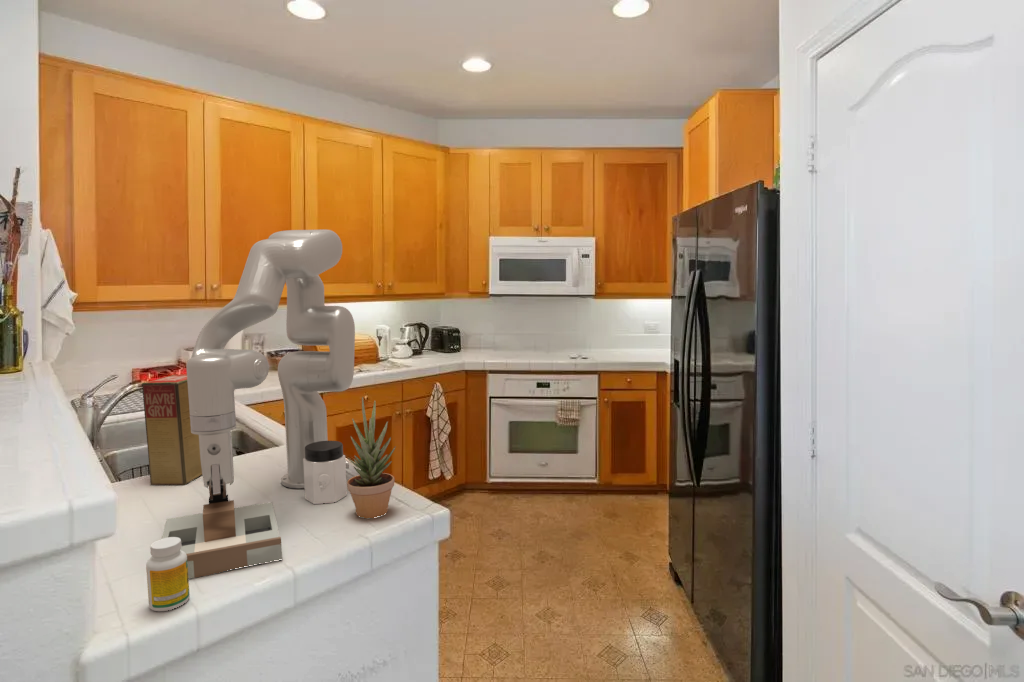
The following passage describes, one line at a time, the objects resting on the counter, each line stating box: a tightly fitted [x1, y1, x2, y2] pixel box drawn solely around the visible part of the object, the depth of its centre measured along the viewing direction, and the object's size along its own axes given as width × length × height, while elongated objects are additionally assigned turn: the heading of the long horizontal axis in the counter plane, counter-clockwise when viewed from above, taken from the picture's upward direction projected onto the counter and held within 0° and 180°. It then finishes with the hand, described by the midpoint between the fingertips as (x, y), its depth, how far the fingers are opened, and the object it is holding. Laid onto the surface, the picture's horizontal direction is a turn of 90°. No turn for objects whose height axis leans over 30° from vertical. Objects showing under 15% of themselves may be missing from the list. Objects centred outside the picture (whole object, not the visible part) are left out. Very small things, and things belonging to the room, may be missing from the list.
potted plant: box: [346, 396, 397, 519], centre depth 123 cm, size 10×10×25 cm
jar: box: [303, 440, 348, 505], centre depth 133 cm, size 9×8×12 cm
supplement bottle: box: [145, 537, 191, 612], centre depth 90 cm, size 5×5×10 cm
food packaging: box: [141, 374, 212, 486], centre depth 149 cm, size 13×9×25 cm
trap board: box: [161, 501, 283, 580], centre depth 109 cm, size 19×22×4 cm
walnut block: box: [202, 499, 236, 542], centre depth 108 cm, size 5×5×5 cm
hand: (219, 517), depth 112 cm, fingers closed
